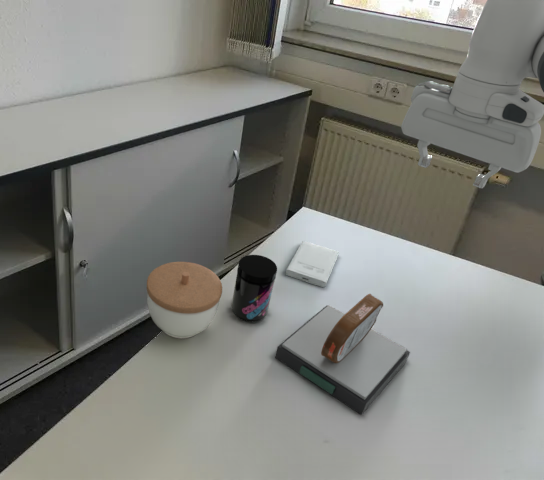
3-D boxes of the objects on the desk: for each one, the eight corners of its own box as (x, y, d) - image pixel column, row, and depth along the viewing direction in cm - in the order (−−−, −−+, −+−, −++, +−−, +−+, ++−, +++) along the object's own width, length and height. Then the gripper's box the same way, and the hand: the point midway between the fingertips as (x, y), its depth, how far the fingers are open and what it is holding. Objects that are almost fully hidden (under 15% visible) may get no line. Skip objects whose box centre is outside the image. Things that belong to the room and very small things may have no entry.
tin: (360, 321, 95) (373, 283, 90) (376, 331, 93) (391, 292, 88) (314, 364, 85) (327, 324, 80) (332, 375, 83) (346, 335, 79)
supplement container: (231, 322, 96) (240, 276, 90) (229, 298, 102) (237, 253, 96) (269, 325, 96) (280, 279, 91) (264, 301, 102) (274, 256, 96)
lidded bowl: (161, 358, 87) (165, 305, 81) (133, 309, 97) (136, 259, 91) (229, 339, 92) (238, 288, 86) (196, 295, 102) (202, 246, 96)
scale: (405, 362, 92) (411, 349, 90) (360, 416, 81) (365, 402, 79) (324, 315, 100) (327, 302, 98) (273, 358, 90) (276, 345, 88)
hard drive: (337, 257, 117) (324, 288, 107) (300, 246, 119) (285, 274, 110) (339, 251, 116) (326, 281, 106) (302, 240, 118) (286, 268, 109)
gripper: (409, 80, 87) (384, 159, 95) (547, 119, 76) (506, 204, 84) (425, 74, 91) (400, 150, 99) (557, 111, 80) (518, 192, 88)
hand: (450, 175), depth 91 cm, fingers open, 8 cm apart
